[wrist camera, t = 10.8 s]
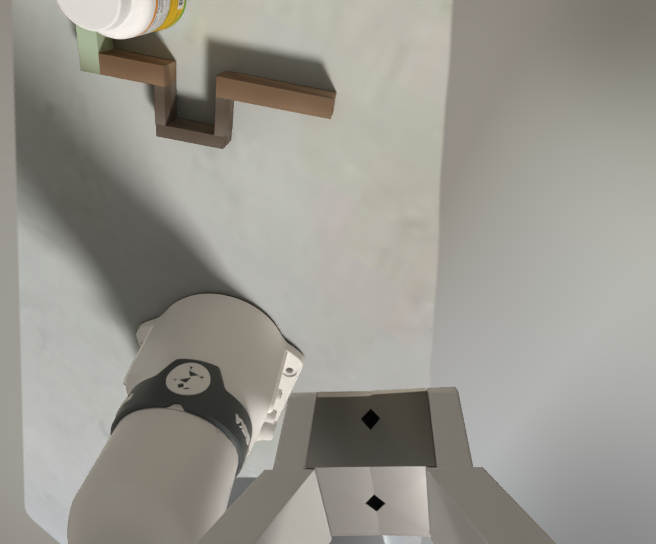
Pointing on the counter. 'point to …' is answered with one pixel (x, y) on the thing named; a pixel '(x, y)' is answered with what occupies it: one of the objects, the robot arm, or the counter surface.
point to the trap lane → (229, 87)
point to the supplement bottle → (124, 15)
